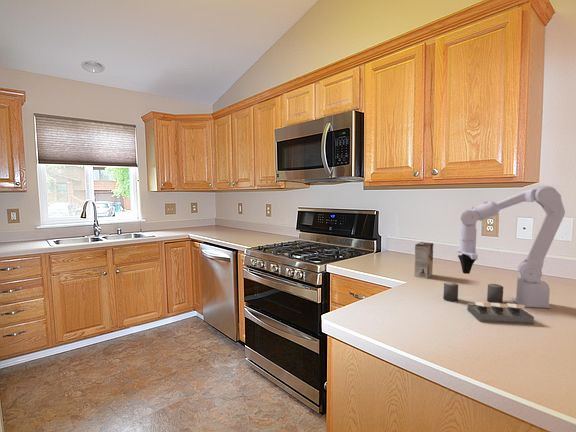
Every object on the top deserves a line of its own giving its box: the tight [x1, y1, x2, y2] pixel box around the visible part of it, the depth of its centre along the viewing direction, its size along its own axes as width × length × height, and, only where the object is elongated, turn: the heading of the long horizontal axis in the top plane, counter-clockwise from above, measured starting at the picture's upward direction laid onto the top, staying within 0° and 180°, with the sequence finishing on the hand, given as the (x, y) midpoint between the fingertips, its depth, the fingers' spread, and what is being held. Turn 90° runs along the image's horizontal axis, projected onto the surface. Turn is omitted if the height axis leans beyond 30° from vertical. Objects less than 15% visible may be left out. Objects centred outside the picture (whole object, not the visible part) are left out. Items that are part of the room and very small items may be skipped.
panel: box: [466, 302, 535, 325], centre depth 110 cm, size 16×10×3 cm, turn 82°
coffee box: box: [414, 241, 434, 279], centre depth 162 cm, size 9×6×16 cm
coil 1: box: [442, 281, 459, 303], centre depth 127 cm, size 5×5×6 cm
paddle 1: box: [475, 301, 491, 307], centre depth 111 cm, size 6×2×1 cm, turn 172°
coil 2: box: [486, 283, 504, 304], centre depth 125 cm, size 5×5×6 cm
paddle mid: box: [491, 302, 508, 308], centre depth 110 cm, size 6×2×1 cm, turn 172°
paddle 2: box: [506, 302, 526, 309], centre depth 110 cm, size 6×2×1 cm, turn 172°
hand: (466, 273), depth 133 cm, fingers closed
